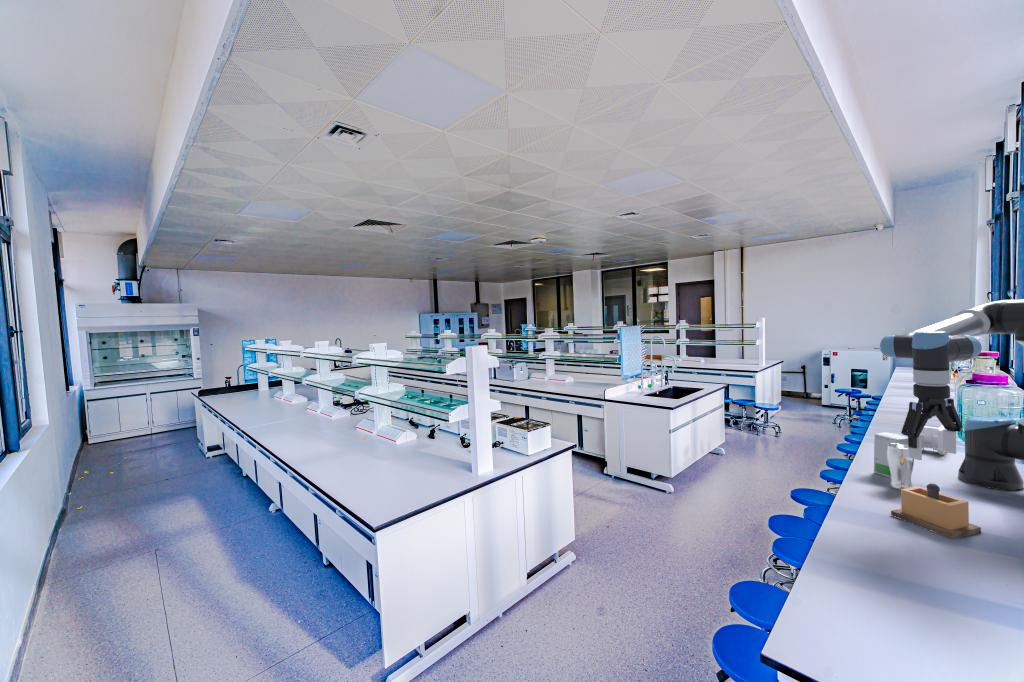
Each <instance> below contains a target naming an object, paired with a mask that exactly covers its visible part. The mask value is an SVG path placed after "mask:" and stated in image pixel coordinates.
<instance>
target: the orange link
mask: <svg viewBox="0 0 1024 682" xmlns="http://www.w3.org/2000/svg"><path fill="white" fill-rule="evenodd" d="M900 500H901V502H900V505H901V506H900V507H901V508H900V509H901V510H902V512H904V513H906V514H909V515H912V516H914V517H917V518H920V519H922V520H925V521H928V522H930V523H933V524H936V525H938V526H941V527H944V528H946V529H949V530H954V529H958V528H962V527H967V526H969V523H970V517H969V516H970V515H969V514H970V512H969V508H970V507H969V506H970V505H969V501H967V500H964V499H961V498H958V497H954V496H951V495H949V494H944V493H941V492H939V500H937V499H934V498H931V497H928V495H927V488H926V487H922V486H919V485H918V486H917V485H916V486H912V487H911V488H906V489H901V490H900Z"/></svg>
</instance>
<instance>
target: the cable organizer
mask: <svg viewBox="0 0 1024 682" xmlns="http://www.w3.org/2000/svg"><path fill="white" fill-rule="evenodd" d="M943 430H947V429H945V428H944V426H943V425H942V424H941V425H940V426H939V427H935V426H926V425H925V426H924V428H923V430H922V432H921V433H920V435H919V437H921V446H922V450H925V448H928V449H932V451H933V452H934V451H937V453H938V454H939V455H940V456H944V455H945V453H946V452H944V451H943Z"/></svg>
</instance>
